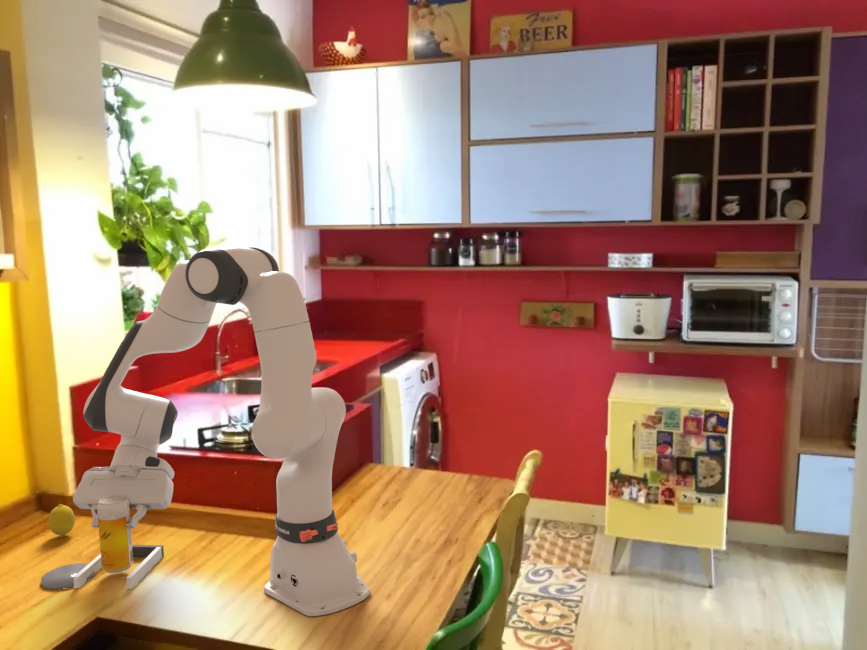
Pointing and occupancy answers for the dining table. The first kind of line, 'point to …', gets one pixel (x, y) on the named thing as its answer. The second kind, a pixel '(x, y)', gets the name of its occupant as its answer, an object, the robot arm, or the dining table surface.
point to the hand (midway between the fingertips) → (113, 527)
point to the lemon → (61, 520)
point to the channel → (152, 557)
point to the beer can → (115, 533)
